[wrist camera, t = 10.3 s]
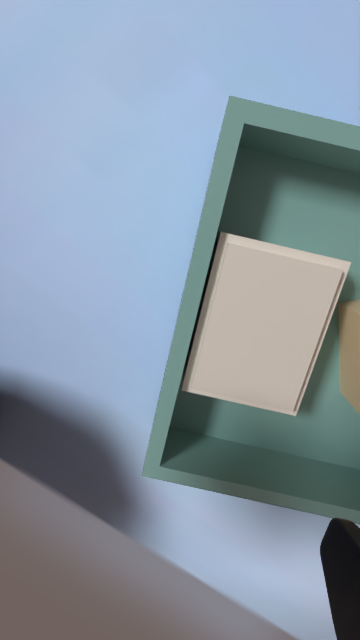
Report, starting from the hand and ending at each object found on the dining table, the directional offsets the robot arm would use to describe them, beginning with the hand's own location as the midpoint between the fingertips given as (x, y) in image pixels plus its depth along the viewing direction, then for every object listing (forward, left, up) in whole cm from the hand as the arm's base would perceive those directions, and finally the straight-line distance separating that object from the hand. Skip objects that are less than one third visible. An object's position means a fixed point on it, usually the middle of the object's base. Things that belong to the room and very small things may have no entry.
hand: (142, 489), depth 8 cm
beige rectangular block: (+4, +2, -12) cm, 13 cm away
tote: (+8, +2, -13) cm, 15 cm away
